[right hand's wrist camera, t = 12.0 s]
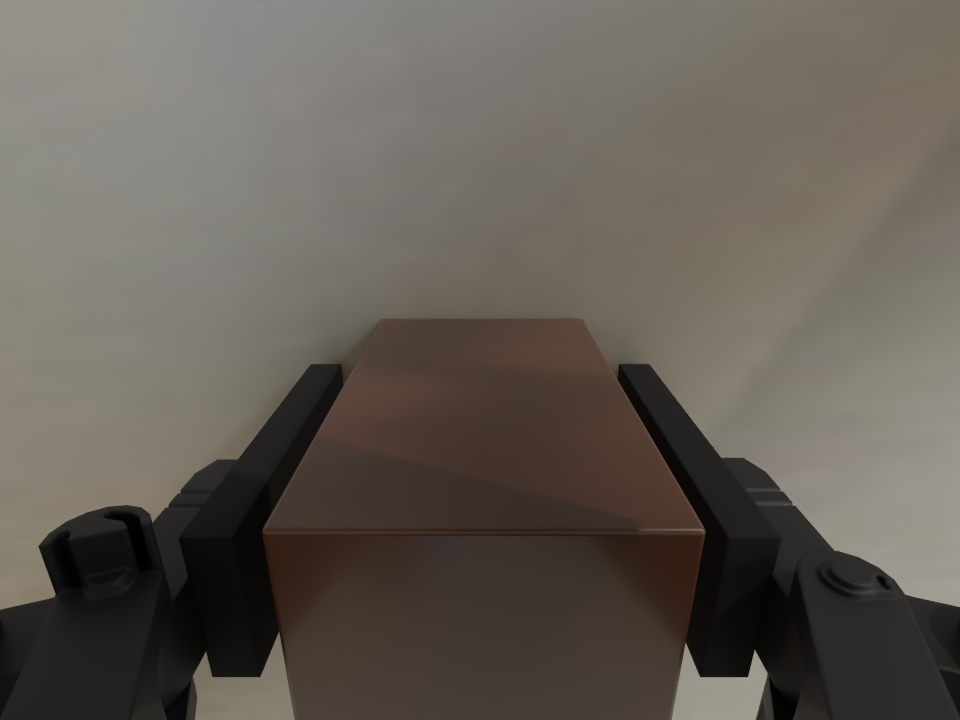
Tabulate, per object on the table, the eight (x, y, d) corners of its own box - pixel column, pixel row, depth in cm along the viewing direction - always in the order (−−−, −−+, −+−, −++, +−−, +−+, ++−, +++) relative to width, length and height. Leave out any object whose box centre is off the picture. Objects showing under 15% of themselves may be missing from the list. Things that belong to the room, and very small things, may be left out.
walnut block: (391, 490, 15) (309, 814, 8) (380, 318, 14) (259, 530, 6) (570, 490, 15) (656, 815, 8) (583, 318, 14) (709, 530, 6)
